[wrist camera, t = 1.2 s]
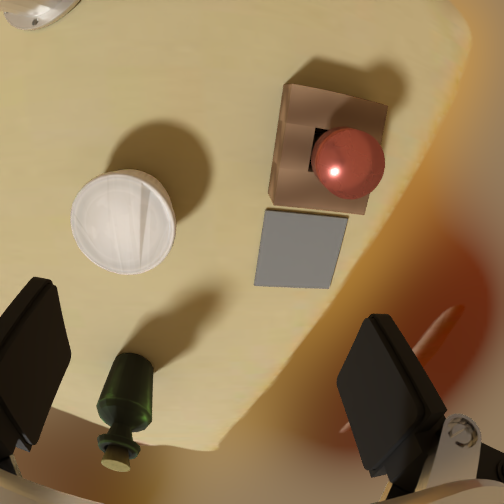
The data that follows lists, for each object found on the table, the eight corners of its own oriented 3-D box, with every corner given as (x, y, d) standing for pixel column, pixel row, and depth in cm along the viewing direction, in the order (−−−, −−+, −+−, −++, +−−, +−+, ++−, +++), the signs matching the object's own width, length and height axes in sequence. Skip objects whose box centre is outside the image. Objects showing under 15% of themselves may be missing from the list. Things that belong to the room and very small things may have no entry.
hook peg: (298, 114, 31) (326, 123, 23) (350, 124, 32) (391, 138, 24) (289, 168, 34) (313, 195, 26) (340, 175, 35) (376, 203, 27)
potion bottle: (107, 373, 46) (85, 466, 30) (112, 341, 43) (83, 445, 27) (153, 386, 48) (143, 481, 33) (163, 357, 45) (151, 463, 29)
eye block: (283, 84, 29) (292, 83, 26) (370, 103, 31) (387, 105, 27) (267, 192, 35) (273, 205, 31) (350, 202, 36) (364, 215, 33)
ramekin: (197, 230, 36) (194, 252, 32) (118, 265, 37) (106, 289, 33) (152, 142, 31) (141, 151, 26) (72, 188, 32) (52, 204, 27)
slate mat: (265, 209, 36) (265, 210, 35) (346, 217, 37) (347, 218, 37) (254, 284, 40) (254, 285, 40) (328, 287, 42) (328, 288, 41)
